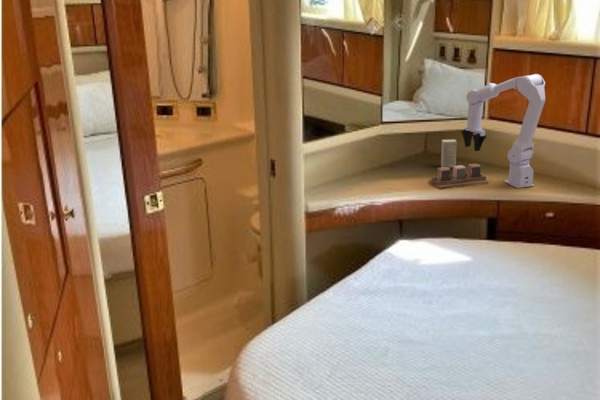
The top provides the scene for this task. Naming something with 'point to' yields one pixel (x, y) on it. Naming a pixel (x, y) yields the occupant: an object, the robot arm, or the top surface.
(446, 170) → the walnut rack
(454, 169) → the rose block
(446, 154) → the skincare box
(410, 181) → the top surface
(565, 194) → the top surface
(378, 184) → the top surface
